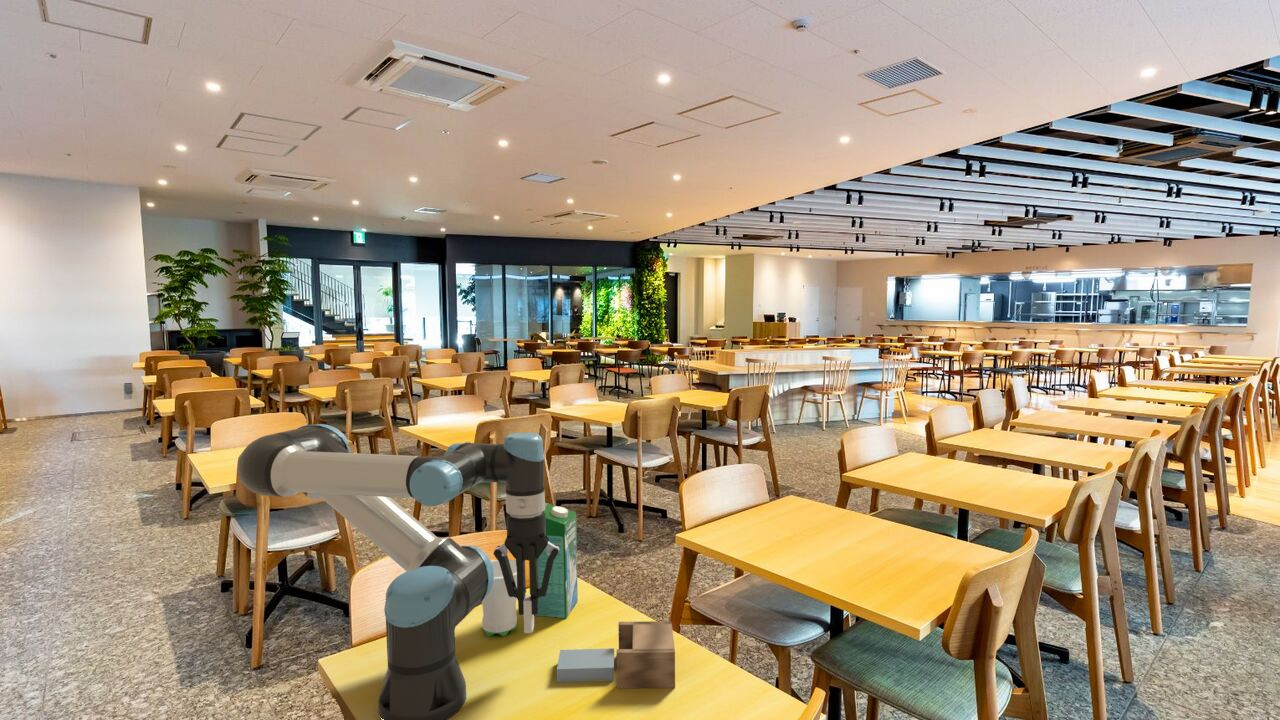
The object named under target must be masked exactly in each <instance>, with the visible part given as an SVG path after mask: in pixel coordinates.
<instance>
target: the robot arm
mask: <svg viewBox="0 0 1280 720" xmlns="http://www.w3.org/2000/svg"><path fill="white" fill-rule="evenodd" d="M543 442H544V441H543V438H542V436H541V435H540V434H538V433H536V432H514V433H511V434H507V435H505V437H504V439H503V443H479V442H477V443H475V442H470V441H469V442H467V441H466V442H461V443H457V442H456V443H452V444H451V445H449V446H448V447H447V450H446V451H445V452H444V454H443V456H420V455H401V454H400V455H399V454H382V453H380V454H379V453H355V452H354V453H353V452H352V451H351V447H349V444H350V442H349V440H348V439H347V437H346V435H344V433H343V432H342V431H340V430H339V429H338V428H336V427H334V426H332V425H328V424H323V423H318V424H317V423H316V424H306V425H302V426H299V427H297V428H294V429H291V430H286V431H281V432H276V433H273V434H272V433H270V434H267V435H263V436H261V437H259V438H257V439H255V440H253V441H252V442H251V443H249V444H248V445H247V446H246V447H245V448H244V449H243V451H242V452H241V453H240V456H239V458H238V462H237V474H238V477H239V480H240V482H241V483H242V484H243V486H244V487H245V488H246V489H247V490H249V491H250V492H252V493H254V494H257V495H260V496H266V497H283V498H290V497H293V496H295V495H298V494H300V493H302V494H303V495H305V496H306V497H307V498H308V499H310V500H320V499H321V500H323V501H324V502H326V503H327V504H328V505H329V506H331V508H332V509H333V510H335V511H336V512H337V513H338V514H339V515H341V516H342V517H343V519H345V520H347V522H348V523H349V524H351V525H352V526H354V528H356V529H357V530H358V531H359V532H360V533H362V534H363V535H364V536H365V537H367V539H369V540H370V541H371V542H372V543H373V544H374V545H375V546H376V547H378V548H379V549H380V550H381V551H383V552H384V553H385V555H386V556H388V557H389V558H390V559H392V560H393V561H394V562H395V564H397V565H399V566H400V567H401V568H402V569H403V570H404V571H405V572H403V573H401V574H400V575H398V576H396V577H395V578H394V579H393V580H392V581H391V582H390V583H389V585H388V587H387V589H386V591H385V592H386V593H385V603H384V617H385V630H386V655H387V670H386V673H385V676H384V680H383V683H382V687H381V690H380V693H379V696H378V716H379V715H380V717H381V718H382V719H384V720H448V719H449V718H451V717H452V716H454V715H455V714H456V713H457V712H458V711H460V709H461V708H462V707H463V706H464V704H465V702H466V699H467V683H466V679H465V677H464V675H463V672H462V669H461V666H460V664H459V662H458V659H457V656H456V639H455V638H456V637H455V636H456V633H455V631H456V630H455V629H456V627H457V626H458V625H459V624H460V623H461V622H463V620H464V619H465V618H466V617H467V616H468V615H469V614H470V613H471V612H472V611H473V610H474V609H476V608H477V607H479V605H481V604H482V601H483V599H484V598H485V597H486V595H487V594H488V593H489V591H490V589H491V587H492V584H493V579H494V575H493V566H492V563H491V559H490V558H489V556H488V555H487V553H486V552H485V551H483V550H482V549H481V548H479V547H477V546H474V545H460V544H459V543H457V542H456V541H455V540H453V539H452V537H450V536H446V537H438V536H436V535H435V534H434V532H432V531H431V530H429V529H428V527H426V526H425V525H424V524H423V523H421V522H420V521H419V520H418V519H417V518H415V517H414V516H413V515H412V514H410V513H409V512H408V510H406V509H405V508H403V506H401V505H400V504H399V503H397V502H396V501H395V499H393V498H400V499H402V498H403V499H414V500H415V501H416V502H418V503H419V504H421V505H422V506H425V507H437V506H438V507H439V506H440V505H442V504H443V505H444V504H446V503H449V502H450V501H452V500H453V499H454V498H456V497H457V496H459V495H460V494H462V493H464V492H466V491H467V490H469V489H471V488H473V487H475V486H477V485H478V484H480V483H496V484H497V483H498V484H500V483H504V486H505V487H504V488H505V509H506V511H505V512H506V513H507V515H506V518H505V519H506V538H505V539H504V543H503V544H501V545H497V546H496V547H495V549H494V551H493V555H494V557H495V558H496V560H498V561H499V564H500V567H501V571H502V574H503V578H504V581H505V585H506V589H507V592H508V595H509V597H515V598H516V600H517V607H518V608H517V609H518V611H517V612H518V615H519V616H523V633H524V634H533V632H534V627H535V616H534V615H537V613H538V610H539V597H541V596H542V597H544V596H545V595H546V593H547V590H548V585H549V581H550V576H551V572H552V567H553V563H554V559H555V557H556V556H557V554H558V552H559V549H560V546H559V545H553V544H552V543H550V542H549V539H548V537H547V535H546V519H545V513H544V512H543V511H544V510H545V503H546V498H545V497H546V491H545V455H544V453H545V452H544V443H543ZM545 548H547V555H548V556H549V557H548V559H547V563H546V568H545V572H544V577H543V581H542V586H541V588H539V579H538V558H539V556H540V555H541V554H542V552H543V551H544V549H545ZM508 553H510V554H511V555H512V557H513V558H514V559H515V561H516V566H517V588H516V584H515V581H514V577H513V573H512V570H511V566H510V563H509V559H510V558H509V556H508ZM526 561H528V565H529V566H530V581H529V589H530V588H531V595H530V594H527V587H526V585H527V583H526V582H527V581H526V580H527V579H526ZM529 566H528V567H529ZM380 717H379V718H380Z"/></svg>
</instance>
